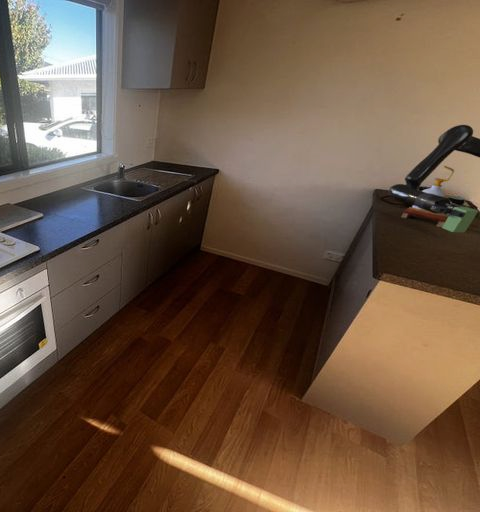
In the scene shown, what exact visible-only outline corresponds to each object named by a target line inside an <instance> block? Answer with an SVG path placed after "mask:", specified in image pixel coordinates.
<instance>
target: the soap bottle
mask: <svg viewBox="0 0 480 512" xmlns="http://www.w3.org/2000/svg"><path fill="white" fill-rule="evenodd" d="M443 168H444V169H447V170H449V171H451V173H450V175H449V177H448V178H447V179H446V178H445V179H444V178H439V177H438V178H437V177H435V178H434V181H435V182H436V183H433V184H432V185H431V187H429V188H426V189H423V190H421V191H422V192H426V193H430V194H435V195H438V196H441V197H445V193H444V192H443V191H442V190H441V188H442V187H443V185H442V183H444V182H448V181H450V180H451V177H452V176H453V174H454V172H455V169H454V168H452V167H449V166H447V165H444V166H443ZM411 207H413V208H417V209H421V208H419V207H417V206H414V205H412V206H411ZM422 210H424V209H422ZM426 211H427V210H426Z"/></svg>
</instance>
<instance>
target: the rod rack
mask: <svg viewBox="0 0 480 512" xmlns="http://www.w3.org/2000/svg"><path fill="white" fill-rule="evenodd" d="M413 215H414V216H417V217H423V218H426V219H431V220H435V221H438V223H437V224H436V227H438V228H442V227H443V225H444V223H445V222H446V220H447V218H448V217H449V215H444V214H440V213H432V212H430V211H426V210H422V209H417V208H413V207H412V206H409V207H406V208H405V209H404V211H403V212H402V214H401V216H400V217H401V218H404V219H407V218H410V217H412V216H413Z"/></svg>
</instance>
